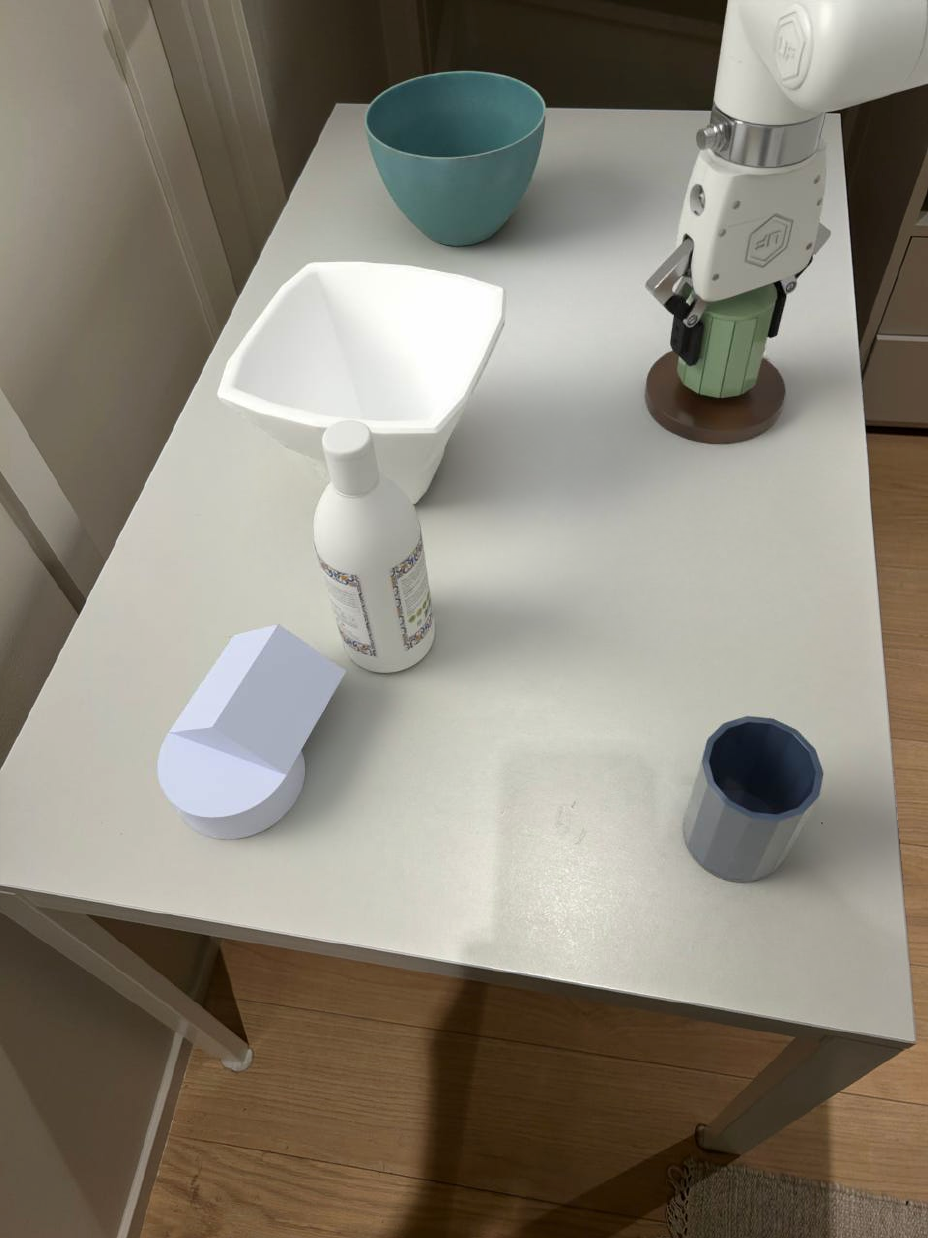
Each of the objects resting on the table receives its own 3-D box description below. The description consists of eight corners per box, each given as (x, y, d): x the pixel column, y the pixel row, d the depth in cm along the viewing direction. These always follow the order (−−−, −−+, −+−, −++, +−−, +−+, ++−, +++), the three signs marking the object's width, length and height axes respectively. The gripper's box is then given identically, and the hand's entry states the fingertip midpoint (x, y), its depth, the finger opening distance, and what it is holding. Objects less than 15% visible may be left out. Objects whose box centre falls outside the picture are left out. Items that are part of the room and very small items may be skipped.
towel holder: (792, 369, 85) (820, 265, 76) (768, 456, 78) (796, 353, 70) (662, 345, 88) (676, 243, 80) (629, 428, 81) (640, 326, 73)
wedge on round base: (245, 661, 69) (147, 812, 62) (221, 606, 64) (110, 765, 57) (353, 696, 67) (263, 858, 60) (337, 642, 61) (236, 813, 54)
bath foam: (429, 594, 72) (399, 387, 56) (442, 667, 68) (413, 467, 52) (340, 608, 71) (283, 405, 55) (347, 683, 67) (289, 487, 51)
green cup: (764, 354, 82) (784, 273, 75) (749, 404, 78) (768, 322, 72) (687, 341, 84) (700, 260, 77) (669, 388, 80) (681, 308, 74)
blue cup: (794, 804, 60) (830, 734, 52) (777, 898, 56) (812, 837, 49) (695, 774, 61) (716, 702, 54) (672, 864, 58) (691, 800, 50)
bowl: (525, 416, 83) (523, 278, 72) (459, 579, 72) (444, 446, 61) (333, 385, 87) (303, 249, 76) (244, 534, 77) (194, 402, 66)
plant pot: (538, 177, 108) (538, 63, 98) (551, 266, 97) (553, 148, 87) (382, 188, 108) (367, 76, 99) (378, 279, 97) (361, 163, 88)
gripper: (685, 185, 60) (657, 400, 75) (904, 118, 64) (837, 335, 78) (627, 136, 65) (610, 348, 79) (835, 75, 68) (783, 289, 82)
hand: (723, 341), depth 78 cm, fingers closed on green cup, 7 cm apart
